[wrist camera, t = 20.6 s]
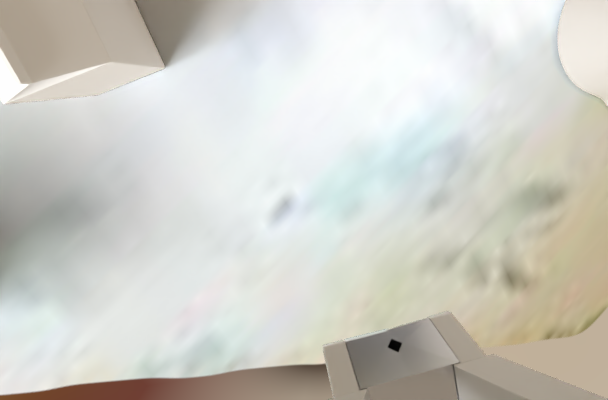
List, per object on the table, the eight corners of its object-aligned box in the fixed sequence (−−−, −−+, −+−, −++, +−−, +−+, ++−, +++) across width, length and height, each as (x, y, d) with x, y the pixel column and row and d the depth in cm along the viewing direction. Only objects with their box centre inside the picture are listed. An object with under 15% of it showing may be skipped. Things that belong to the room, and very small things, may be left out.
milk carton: (130, -10, 36) (1, -100, 18) (166, 68, 38) (84, 58, 20) (57, 19, 36) (-145, -41, 18) (97, 95, 38) (-47, 110, 20)
